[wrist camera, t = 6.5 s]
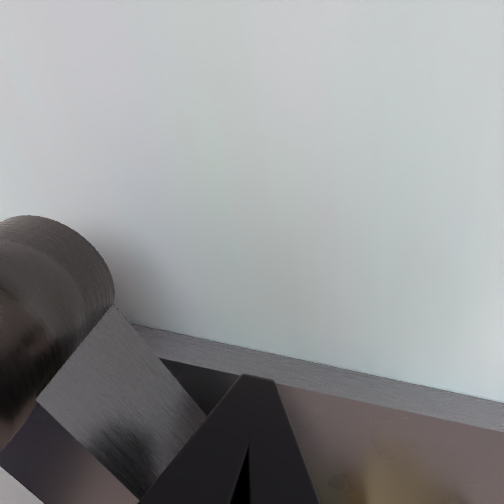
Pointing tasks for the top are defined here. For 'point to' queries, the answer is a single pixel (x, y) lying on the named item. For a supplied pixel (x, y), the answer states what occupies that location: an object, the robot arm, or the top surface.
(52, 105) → the top surface
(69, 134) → the top surface
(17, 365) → the lever handle
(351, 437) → the flange plate
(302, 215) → the top surface
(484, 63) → the top surface
